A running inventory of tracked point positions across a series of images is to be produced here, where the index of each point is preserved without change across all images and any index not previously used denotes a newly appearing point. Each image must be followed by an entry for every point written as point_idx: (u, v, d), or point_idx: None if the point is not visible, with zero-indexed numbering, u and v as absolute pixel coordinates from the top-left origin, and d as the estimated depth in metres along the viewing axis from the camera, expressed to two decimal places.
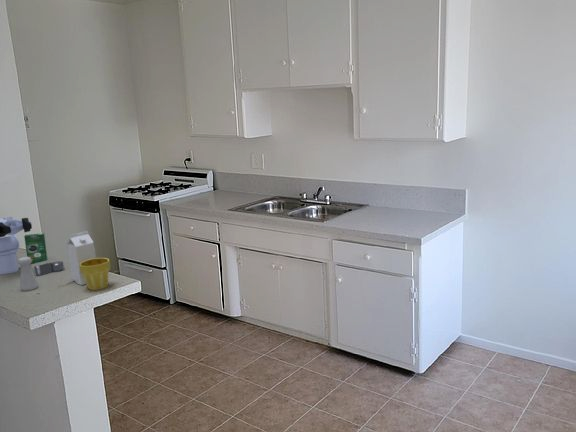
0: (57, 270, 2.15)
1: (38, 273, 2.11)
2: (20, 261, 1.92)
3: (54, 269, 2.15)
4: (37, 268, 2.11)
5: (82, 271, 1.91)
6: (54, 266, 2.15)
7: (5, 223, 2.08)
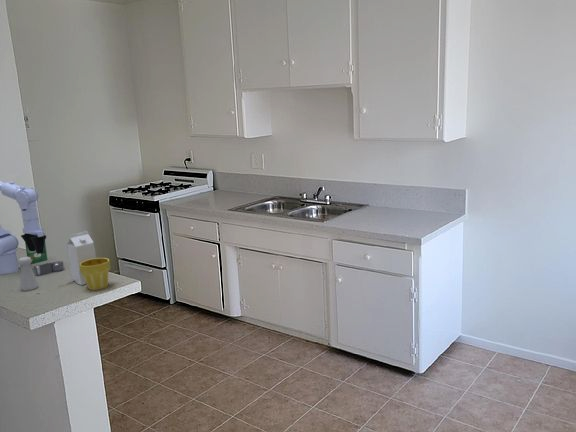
0: (57, 270, 2.15)
1: (38, 273, 2.11)
2: (20, 261, 1.92)
3: (54, 269, 2.15)
4: (37, 268, 2.11)
5: (82, 271, 1.91)
6: (54, 266, 2.15)
7: None
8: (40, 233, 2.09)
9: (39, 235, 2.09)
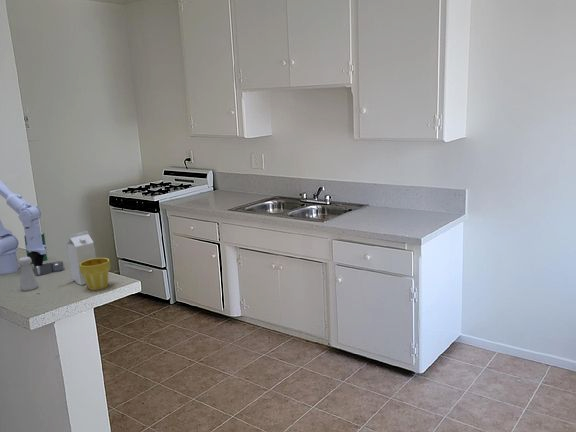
0: (57, 270, 2.15)
1: (38, 273, 2.11)
2: (20, 261, 1.92)
3: (54, 269, 2.15)
4: (37, 268, 2.11)
5: (82, 271, 1.91)
6: (54, 266, 2.15)
7: None
8: (43, 251, 2.11)
9: (42, 253, 2.11)
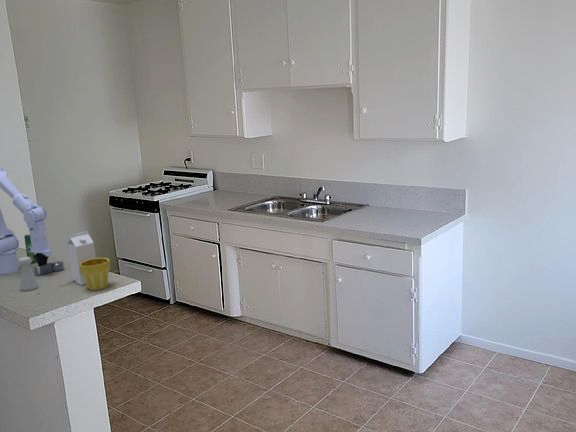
0: (57, 270, 2.15)
1: (38, 273, 2.11)
2: (20, 261, 1.92)
3: (54, 269, 2.15)
4: (37, 268, 2.11)
5: (82, 271, 1.91)
6: (54, 266, 2.15)
7: None
8: (48, 252, 2.08)
9: (47, 254, 2.08)
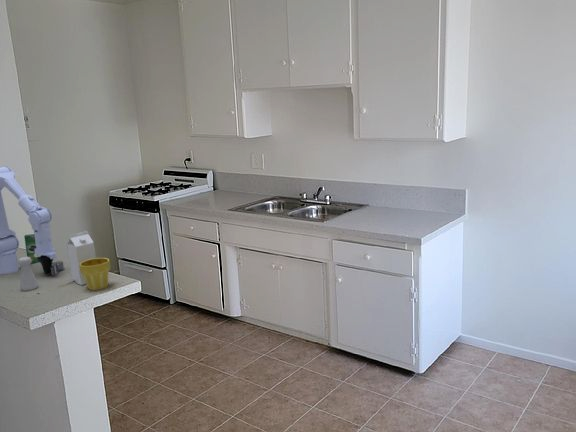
0: (62, 268, 2.17)
1: (55, 273, 2.10)
2: (20, 261, 1.92)
3: (60, 268, 2.16)
4: (55, 268, 2.10)
5: (82, 271, 1.91)
6: (60, 265, 2.16)
7: None
8: (53, 255, 2.05)
9: (52, 257, 2.05)
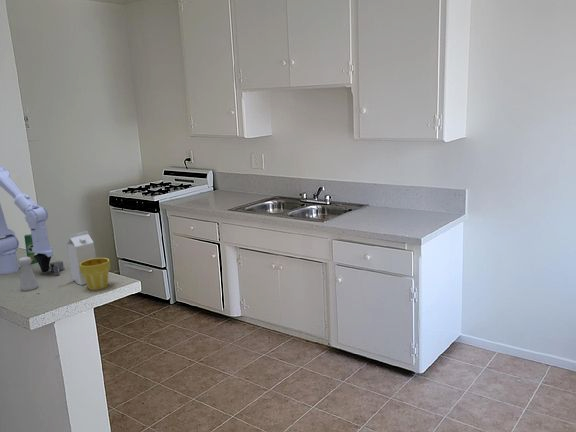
0: (63, 268, 2.17)
1: (58, 272, 2.10)
2: (20, 261, 1.92)
3: (61, 268, 2.16)
4: (58, 267, 2.10)
5: (82, 271, 1.91)
6: (61, 265, 2.16)
7: None
8: (50, 253, 2.07)
9: (49, 255, 2.07)
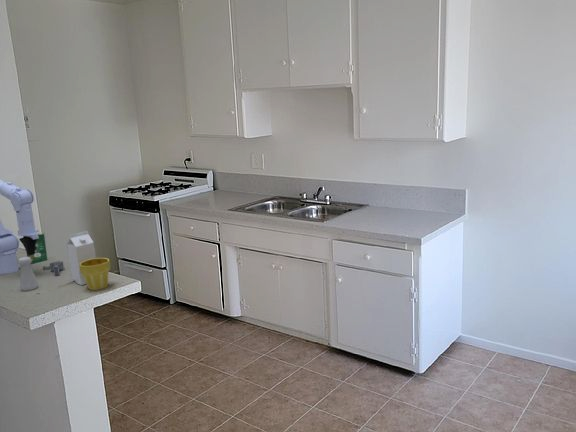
0: (63, 268, 2.17)
1: (58, 272, 2.10)
2: (20, 261, 1.92)
3: (61, 268, 2.16)
4: (58, 267, 2.10)
5: (82, 271, 1.91)
6: (61, 265, 2.16)
7: None
8: (35, 235, 2.06)
9: (34, 237, 2.05)
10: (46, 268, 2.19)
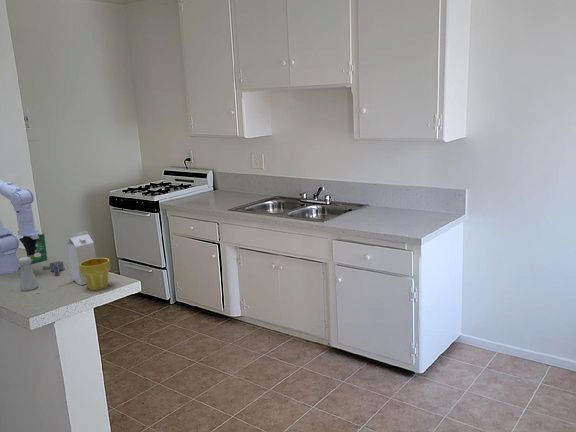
0: (63, 268, 2.17)
1: (58, 272, 2.10)
2: (20, 261, 1.92)
3: (61, 268, 2.16)
4: (58, 267, 2.10)
5: (82, 271, 1.91)
6: (61, 265, 2.16)
7: None
8: (35, 235, 2.06)
9: (34, 237, 2.05)
10: (46, 268, 2.19)
